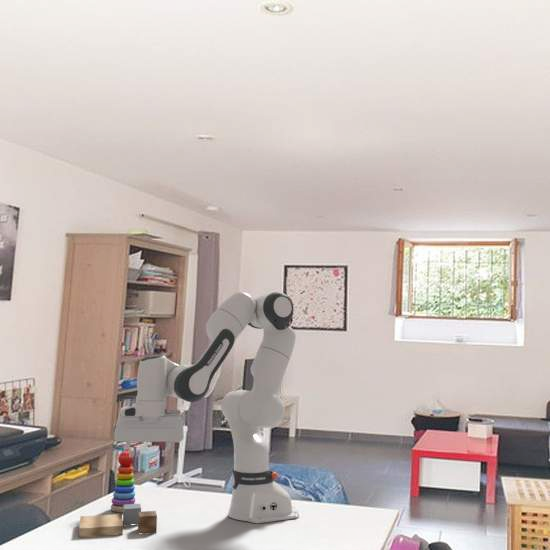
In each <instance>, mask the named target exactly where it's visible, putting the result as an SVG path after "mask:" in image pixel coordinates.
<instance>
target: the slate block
mask: <svg viewBox="0 0 550 550" xmlns="http://www.w3.org/2000/svg"><path fill="white" fill-rule="evenodd" d="M138 512H142V507H141V503H135V504H125V505H124V506H123V512H122V513H123V514H122V521H123V525H130V526H132V525H131V524H138Z"/></svg>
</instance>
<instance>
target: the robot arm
mask: <svg viewBox="0 0 550 550" xmlns="http://www.w3.org/2000/svg"><path fill="white" fill-rule="evenodd" d="M294 308H295V307H294V303H293V300H292V298H291V297H290V296H289V295H288V294H286V293H283V292H278V291H277V292H271V293H266V294H263V295H262V294H261V296H258V297H254V298H253V297H252V295H250V294H249V293H246V292H244V291H236V292H234V293H232V294H231V295H230V296H229V297H227V298H226V299H224V301H222V303H221V304H219V306H218V307H217V309H216V310H214V311H213V313H212V315H211V316H210V317H209V318H208V320H207V322H206V324H205V332H206V335H207V337H208V339H209V340H210V342H209V345H208V346H207V348H206V349H205V351H204V352H203V354H202V355H201V356H200V358H199V359H198V360H197V362H195V363H194V364H193V365H189V366H183V365H180V364H178V363H175V361H172V360H170V359H169V358H167V356H166V355H164V354H151V355H146V356H144V357H142V358H140V361H139V363H138V368H137V375H136V388H137V394H136V398H135V403H131V404H129V405H125V406H122V407H120V409H119V410H120V411H119V414H120V416H119V417H118V418H117V420H116V424H115V429H114V436H113V439H114V441H115V442H117V443H125V445H126V448H127V451H129V452H130V454H129V458H131V457H134V458H135V450H132V447H131V446H132V442H133V443H142V442H143V443H146V442H147V443H149V442H151V443H153V442H157V443H158V442H159V443H161V442H162V443H163V442H164V443H165V442H166V443H165V445H166V447H165V449H163V450H161V458H167V457H168V451H170V449H171V446H172V442H179V443H180V442H182V441H183V440H184V435H185V434H184V433H185V431H184V424H186V423H185V422H186V413H185V412H184V411H182V410H181V409H166V406H167V405H166V404H167V397H168V396H169V397H173V398H175V399H181V400H183V401H185V402H189V403H196V402H199V401H200V400H202V399H203V398H204V397H205V396H206V395H207V393H208V392H209V389H210V387H211V382H212V380H213V378H214V377H215V374H216V372H217V371H218V370H219V368H220V367H221V365H222V364H223V363H224V361H225V359H226V358H227V356H228V355H229V353H230V352H231V350H232V348H233V346H234V344H235V342H236V341H237V339H238V337H239V336H240V335H241V333H242V332H243V331H244V330H245V328H246V327H247V326H249V327H251V328H254V329H257V330H258V329H260V330H262V329H263V336H262V341H261V343H260V344H259V347H258V349H257V352H256V354H255V356H254V359H253V361H252V364H251V366H250V373H251V375H252V377H253V384H252V388H251V390H245V389H237V390H232V391H230V392H227V393H226V394H225V395H224V396H223V397H222V399H221V405H220V410H221V413H222V416H223V417H224V418H225V419H226V421H227V423H228V426H229V428H230V429H229V430H230V433H231V438H232V442H233V469H232V473H231V475H232V476H231V486H232V493H231V501H230V506H229V510H228V512H227V516H228V517H230V518H231V519H234V520H238V521H244V522H249V523H253V524H262V523H270V522H276V521H283V520H284V521H285V520H293V519H297V518H299V516H300V514H299V510H298V508H296V507H294V506H293V503H292V499H291V495H290V494H289V493H288V491H286V490H285V489H284V488H283V487H282V486H280V484H279V483H277V482H276V481H275V480H278V478H279V474H278V473H277V472H276V471H273V470H271V469H270V468H269V448H270V447H269V444H268V442H267V440H266V439H265V438H264V436H263V434H262V431H261V429H266V428H267V429H268V428H269V429H270V428H274V427H277V426H279V425H280V424H281V423H282V422H283V419H284V418H285V414H286V408H285V407H286V406H285V405H284V404H285V403H284V401H283V399H282V395H281V390H282V389H281V388H282V382H283V378H284V375H285V373H286V370H287V368H288V365H289V362H290V359H291V357H292V354H293V351H294V348H295V343H296V332H295V330H294V329H293V328H292V327H291V326H292V324H293V321H294V320H293V316H294V311H295V309H294Z"/></svg>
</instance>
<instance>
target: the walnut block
mask: <svg viewBox="0 0 550 550" xmlns="http://www.w3.org/2000/svg"><path fill="white" fill-rule="evenodd" d="M157 521H158V514H157V511H156V510H148V511H146V510H145V511H141V512H138V525H137V531H138V532H139V533H150V534H157V525H158V524H157V523H158V522H157ZM139 533H138V534H139Z"/></svg>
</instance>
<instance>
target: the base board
mask: <svg viewBox="0 0 550 550" xmlns="http://www.w3.org/2000/svg"><path fill="white" fill-rule="evenodd" d="M78 528H79V529H78V538H92V537H109V535H110V536H118V535H117V534H123V533H124V526H123V514H122V513H119V514H115V513H114V514H101V515H100V514H99V515H84V516H83V515H81V516H80V518H79V527H78Z"/></svg>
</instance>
